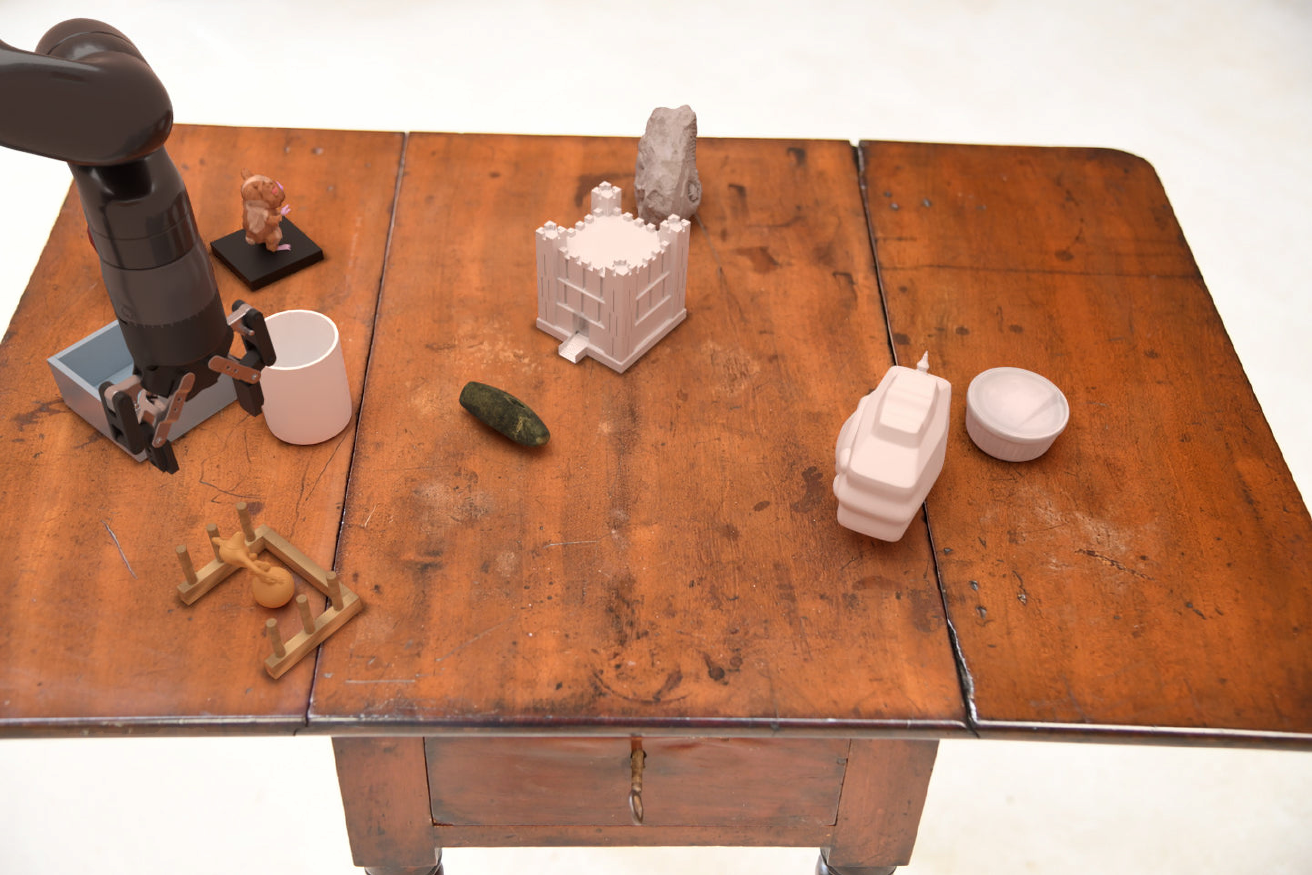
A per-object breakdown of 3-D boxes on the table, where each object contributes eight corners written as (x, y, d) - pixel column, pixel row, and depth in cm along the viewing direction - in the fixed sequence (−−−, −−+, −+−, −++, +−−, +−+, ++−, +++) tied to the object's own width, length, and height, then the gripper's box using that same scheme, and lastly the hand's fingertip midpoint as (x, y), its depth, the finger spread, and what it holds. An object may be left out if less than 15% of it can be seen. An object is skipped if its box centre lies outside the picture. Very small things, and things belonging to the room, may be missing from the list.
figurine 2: (321, 607, 123) (301, 529, 115) (274, 648, 120) (250, 570, 111) (263, 565, 126) (239, 486, 118) (216, 604, 123) (187, 525, 114)
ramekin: (1056, 479, 139) (1069, 446, 135) (954, 459, 140) (964, 426, 136) (1058, 409, 146) (1070, 376, 143) (961, 391, 148) (971, 358, 144)
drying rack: (276, 679, 117) (261, 636, 112) (180, 599, 123) (163, 554, 118) (362, 609, 123) (352, 564, 118) (267, 535, 129) (254, 490, 124)
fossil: (692, 247, 162) (706, 130, 154) (619, 237, 162) (630, 120, 155) (704, 210, 176) (717, 101, 169) (637, 200, 176) (647, 92, 169)
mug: (333, 455, 137) (316, 377, 129) (230, 434, 139) (207, 355, 130) (366, 396, 144) (352, 318, 135) (268, 377, 145) (248, 298, 137)
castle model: (685, 317, 155) (692, 222, 145) (610, 383, 147) (611, 286, 136) (603, 274, 160) (604, 179, 150) (525, 335, 152) (520, 239, 141)
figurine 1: (324, 259, 160) (309, 179, 152) (253, 291, 155) (233, 211, 147) (282, 221, 165) (265, 143, 157) (212, 252, 160) (190, 172, 152)
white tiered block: (947, 458, 140) (979, 352, 129) (906, 576, 129) (937, 471, 117) (852, 429, 143) (875, 322, 131) (803, 542, 131) (824, 435, 120)
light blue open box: (139, 463, 135) (122, 418, 130) (65, 404, 141) (46, 359, 136) (242, 396, 143) (229, 351, 138) (167, 342, 149) (153, 298, 144)
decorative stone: (558, 412, 143) (558, 380, 139) (548, 462, 138) (547, 430, 134) (462, 403, 143) (458, 371, 140) (448, 452, 138) (444, 420, 134)
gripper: (209, 224, 99) (249, 374, 111) (48, 315, 91) (110, 466, 103) (272, 263, 96) (307, 413, 108) (112, 360, 88) (168, 511, 100)
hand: (210, 439), depth 106 cm, fingers open, 8 cm apart
